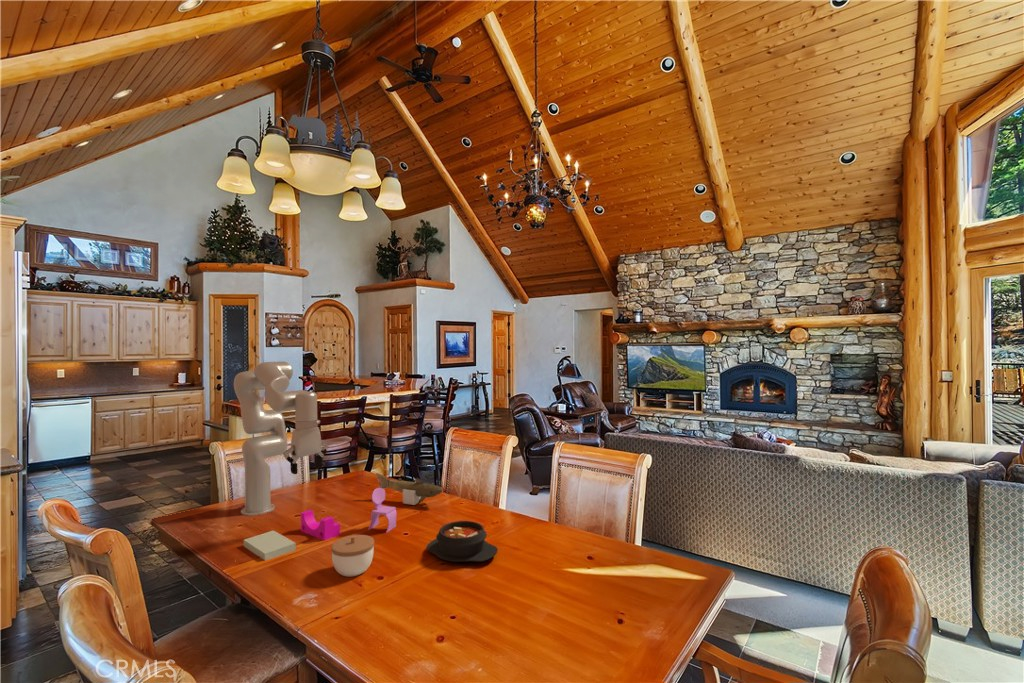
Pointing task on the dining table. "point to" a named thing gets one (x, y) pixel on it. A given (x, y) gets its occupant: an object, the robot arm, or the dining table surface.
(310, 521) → the toy block
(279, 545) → the base slab
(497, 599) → the dining table surface
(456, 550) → the casserole
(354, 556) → the lidded bowl
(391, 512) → the toy chair
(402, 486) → the wood carving
